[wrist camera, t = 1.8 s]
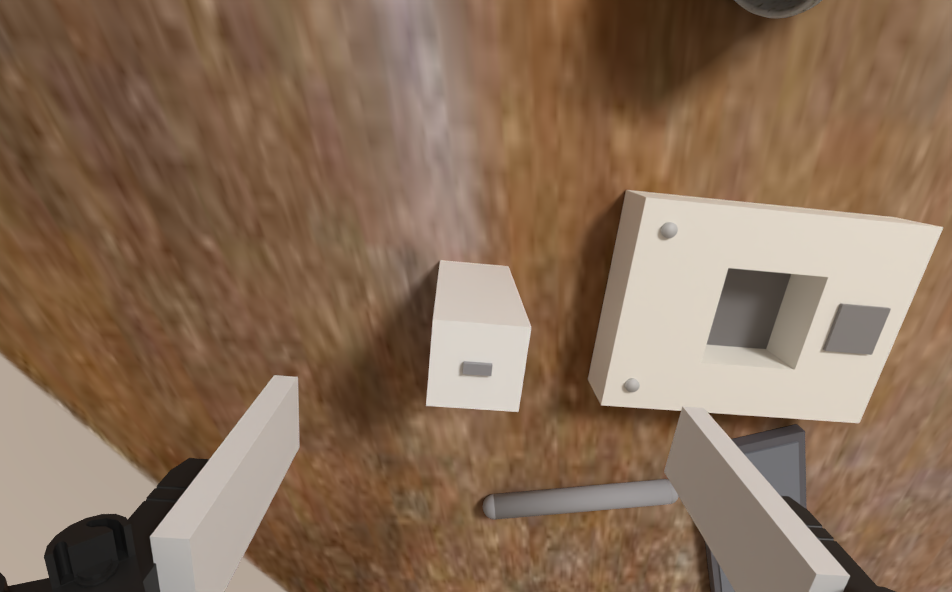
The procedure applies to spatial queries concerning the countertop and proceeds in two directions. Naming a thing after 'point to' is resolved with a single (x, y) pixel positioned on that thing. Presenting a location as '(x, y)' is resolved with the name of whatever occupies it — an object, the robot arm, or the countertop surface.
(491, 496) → the grey rod
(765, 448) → the phone slab
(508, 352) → the charger block
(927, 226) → the outlet plate
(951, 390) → the countertop surface
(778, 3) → the ceramic mug
